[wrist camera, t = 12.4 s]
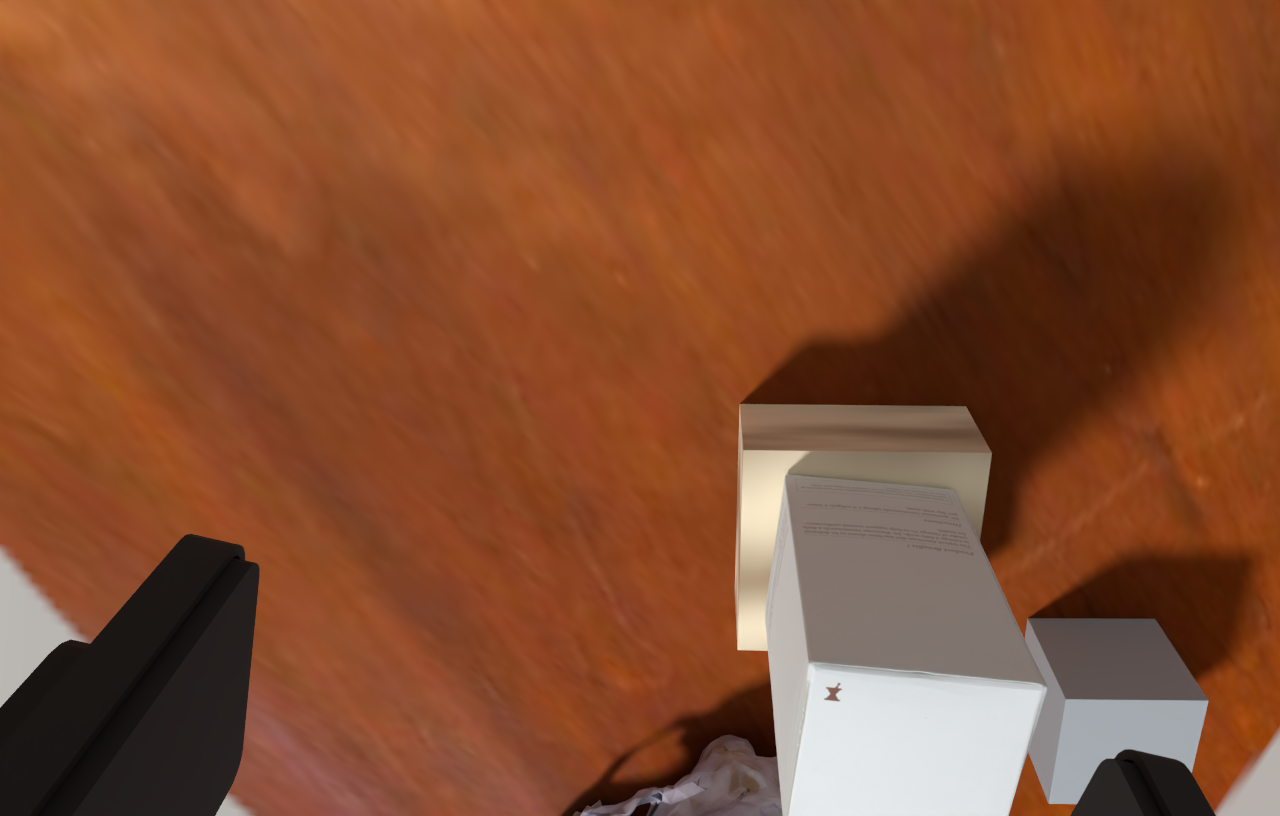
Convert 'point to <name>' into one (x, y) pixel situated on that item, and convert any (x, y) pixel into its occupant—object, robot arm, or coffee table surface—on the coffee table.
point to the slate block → (1108, 699)
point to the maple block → (841, 473)
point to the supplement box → (893, 656)
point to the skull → (712, 787)
